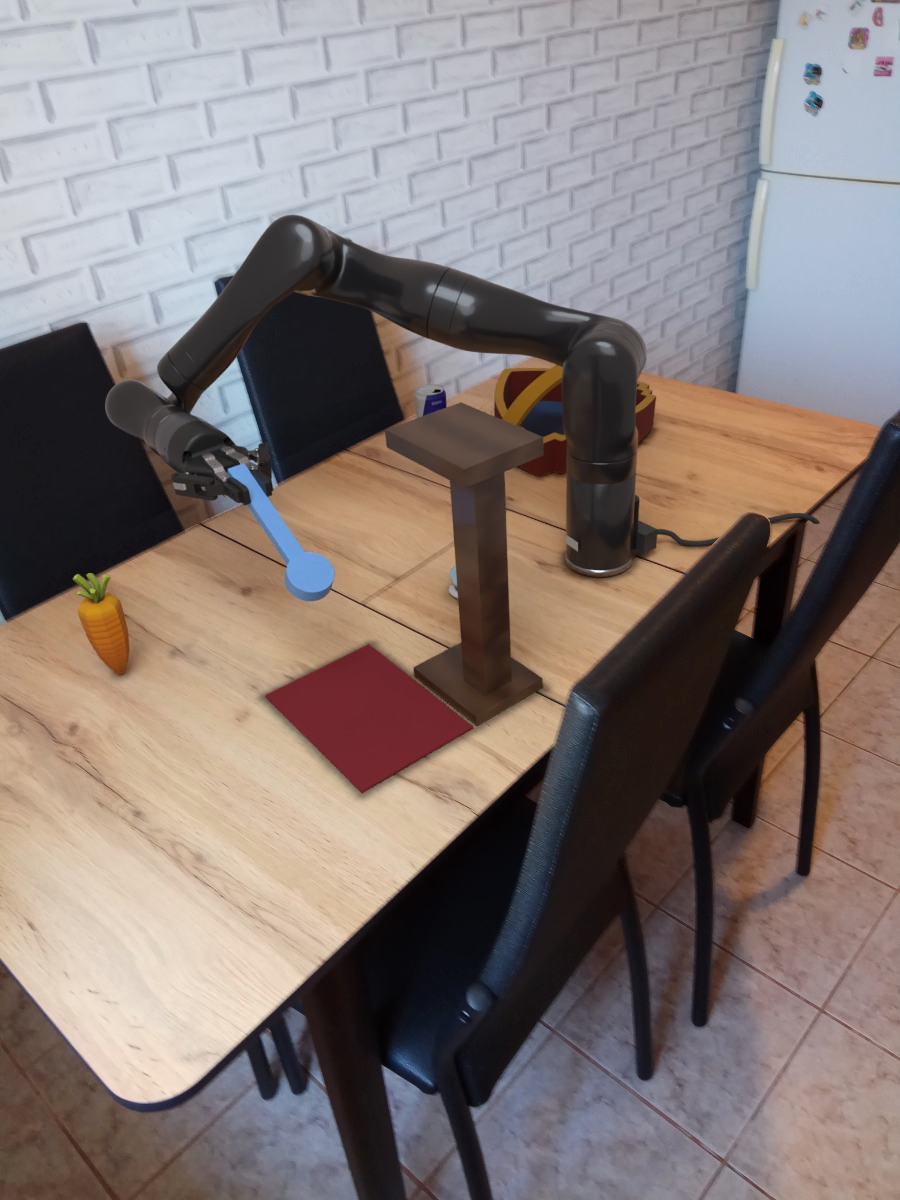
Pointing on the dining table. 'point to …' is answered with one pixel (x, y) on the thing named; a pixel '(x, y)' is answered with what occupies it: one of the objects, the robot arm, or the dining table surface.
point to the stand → (474, 552)
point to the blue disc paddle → (287, 544)
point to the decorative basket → (551, 412)
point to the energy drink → (429, 399)
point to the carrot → (104, 622)
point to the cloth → (367, 716)
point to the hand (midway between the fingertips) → (257, 492)
